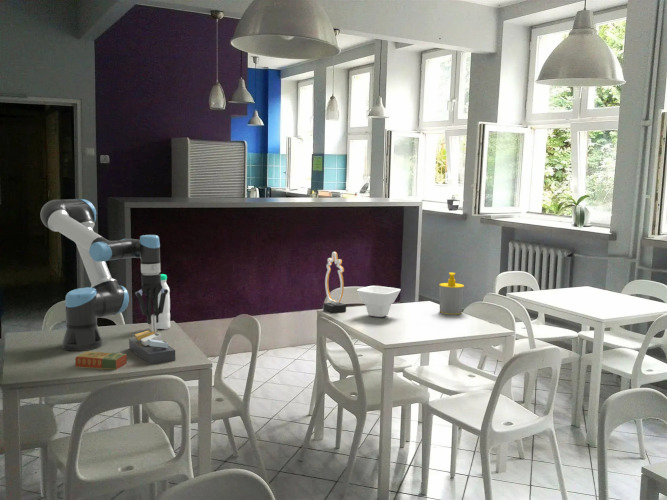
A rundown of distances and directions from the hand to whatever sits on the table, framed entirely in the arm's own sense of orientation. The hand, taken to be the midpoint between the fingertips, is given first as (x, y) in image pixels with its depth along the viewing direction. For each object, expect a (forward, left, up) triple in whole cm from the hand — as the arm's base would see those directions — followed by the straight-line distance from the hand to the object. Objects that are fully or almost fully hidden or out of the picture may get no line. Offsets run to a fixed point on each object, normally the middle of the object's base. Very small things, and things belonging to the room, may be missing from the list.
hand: (153, 331), depth 249 cm
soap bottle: (+157, -12, -8) cm, 157 cm away
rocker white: (-3, -7, -1) cm, 8 cm away
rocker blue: (-3, -15, -1) cm, 15 cm away
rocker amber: (-3, 0, -1) cm, 3 cm away
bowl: (+117, 0, -8) cm, 117 cm away
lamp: (+105, +22, -8) cm, 107 cm away
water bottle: (+15, +32, -8) cm, 36 cm away
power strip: (-3, -3, -7) cm, 9 cm away
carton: (-23, -11, -8) cm, 27 cm away
